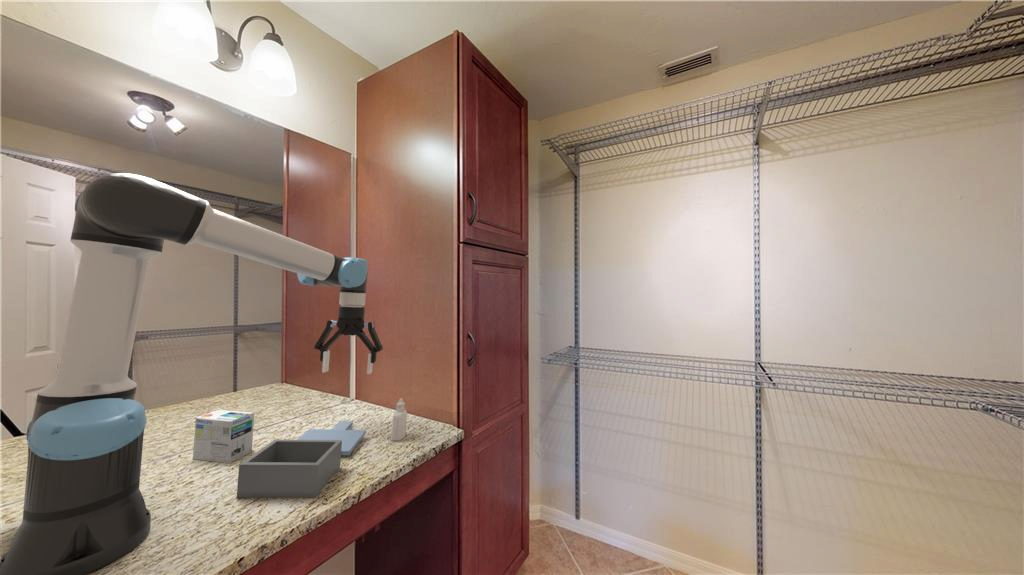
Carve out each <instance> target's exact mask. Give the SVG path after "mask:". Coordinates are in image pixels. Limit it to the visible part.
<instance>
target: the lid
mask: <svg viewBox="0 0 1024 575" xmlns="http://www.w3.org/2000/svg"><path fill="white" fill-rule="evenodd" d="M353 424H354V421H350V420H349V421H348V420H339V422H337V424H335V425H334V426H333V427H332V428H331V429H330V428H329V429H327V428H326V429H325V428H324V429H323V428H322V429H321V428H320V429H319V428H317V429H315V428H310V429H308V430H306V431H305V432H304V433H303V434H302V435H301V436H299V437H298V438H297V439H296V440H342V446H341V456H350V454H351V453H352V452H353V451H354V450H355V448H356V447H357V446H358V445H359V443H360V442H361V441H362V439H363V438H364V436H366V434H367V430H366V429H353V428H354V427H353V426H354V425H353Z"/></svg>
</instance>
